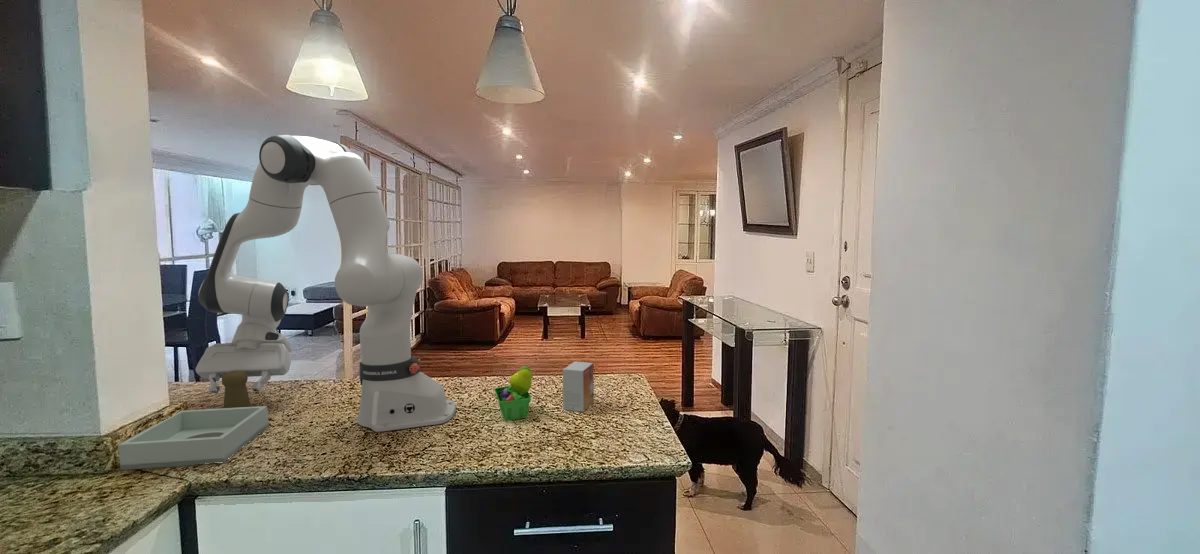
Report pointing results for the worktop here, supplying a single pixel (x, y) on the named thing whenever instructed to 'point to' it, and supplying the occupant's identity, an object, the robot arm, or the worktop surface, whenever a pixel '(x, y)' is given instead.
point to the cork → (235, 389)
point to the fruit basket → (515, 395)
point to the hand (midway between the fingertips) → (235, 391)
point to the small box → (578, 386)
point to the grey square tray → (193, 438)
